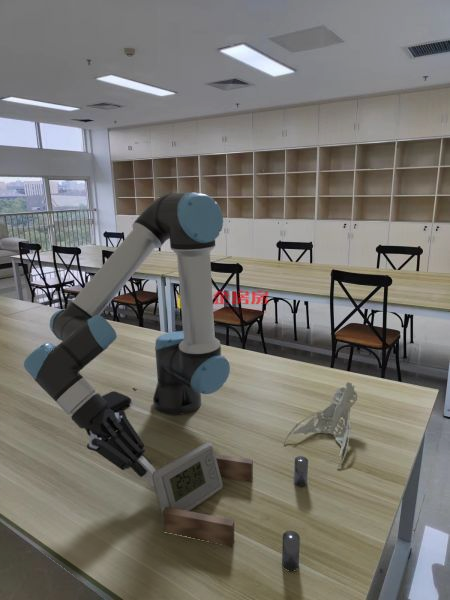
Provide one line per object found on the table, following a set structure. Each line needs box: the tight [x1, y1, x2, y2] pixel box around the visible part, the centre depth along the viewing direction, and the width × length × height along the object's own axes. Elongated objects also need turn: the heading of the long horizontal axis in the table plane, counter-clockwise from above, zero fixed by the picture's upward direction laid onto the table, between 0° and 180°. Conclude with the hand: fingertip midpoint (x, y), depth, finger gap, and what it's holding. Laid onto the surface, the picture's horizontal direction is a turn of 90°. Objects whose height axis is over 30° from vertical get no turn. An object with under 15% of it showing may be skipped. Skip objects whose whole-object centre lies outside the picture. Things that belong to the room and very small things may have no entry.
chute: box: [162, 453, 254, 548], centre depth 89 cm, size 14×20×5 cm
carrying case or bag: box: [101, 390, 132, 413], centre depth 128 cm, size 11×3×15 cm
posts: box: [281, 455, 309, 572], centre depth 84 cm, size 3×25×6 cm, turn 165°
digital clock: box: [152, 441, 223, 518], centre depth 89 cm, size 16×9×11 cm, turn 122°
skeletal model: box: [283, 381, 358, 470], centre depth 112 cm, size 16×9×25 cm
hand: (157, 481), depth 91 cm, fingers closed
